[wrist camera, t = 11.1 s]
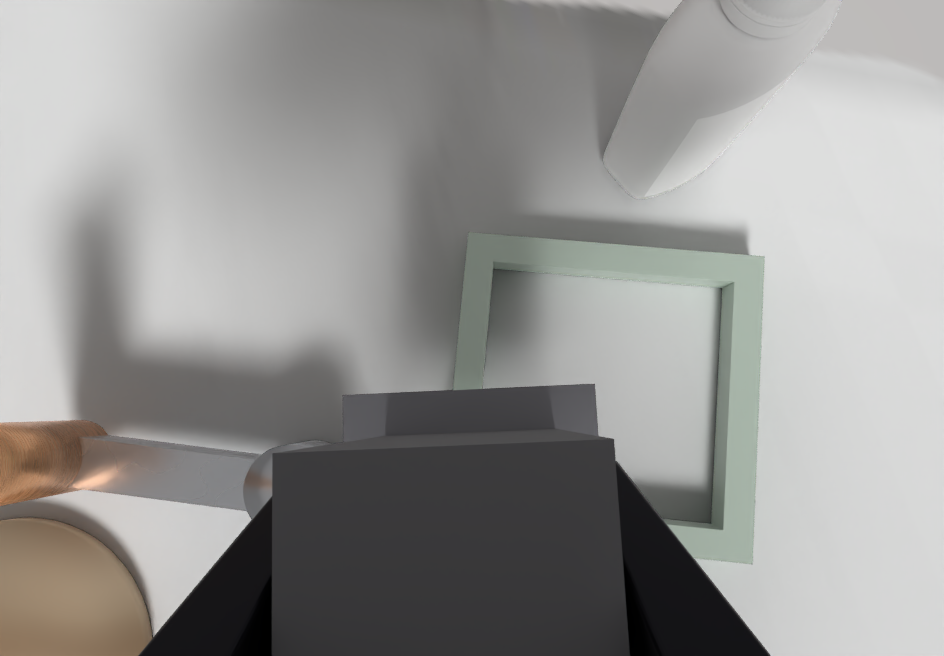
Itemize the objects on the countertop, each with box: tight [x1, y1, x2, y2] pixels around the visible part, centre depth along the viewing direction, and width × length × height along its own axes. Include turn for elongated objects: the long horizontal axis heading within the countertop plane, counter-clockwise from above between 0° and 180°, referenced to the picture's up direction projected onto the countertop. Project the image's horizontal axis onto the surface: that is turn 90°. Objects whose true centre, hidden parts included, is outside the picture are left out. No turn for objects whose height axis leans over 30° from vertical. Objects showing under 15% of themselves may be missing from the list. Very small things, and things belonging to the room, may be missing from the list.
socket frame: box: [453, 232, 765, 564], centre depth 22 cm, size 10×10×1 cm
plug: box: [272, 384, 630, 656], centre depth 11 cm, size 6×6×9 cm
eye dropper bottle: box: [603, 0, 842, 199], centre depth 18 cm, size 4×6×12 cm
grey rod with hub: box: [0, 420, 330, 519], centre depth 18 cm, size 21×8×8 cm, turn 43°
